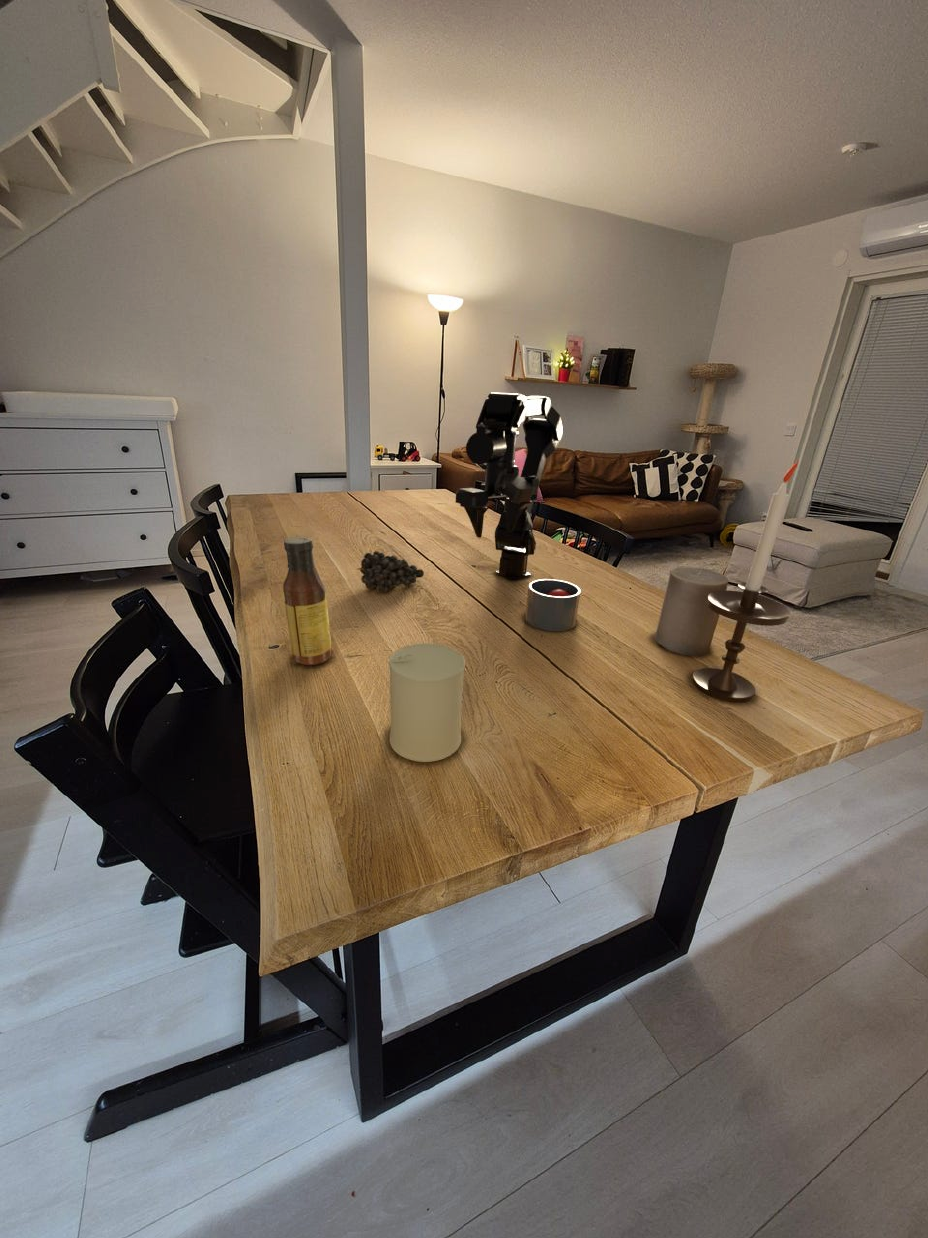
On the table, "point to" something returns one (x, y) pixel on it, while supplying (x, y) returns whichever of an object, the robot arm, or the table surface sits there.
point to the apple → (559, 593)
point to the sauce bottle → (306, 605)
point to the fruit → (387, 572)
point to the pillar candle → (689, 610)
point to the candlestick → (746, 611)
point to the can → (426, 701)
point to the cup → (552, 605)
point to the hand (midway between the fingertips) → (494, 534)
